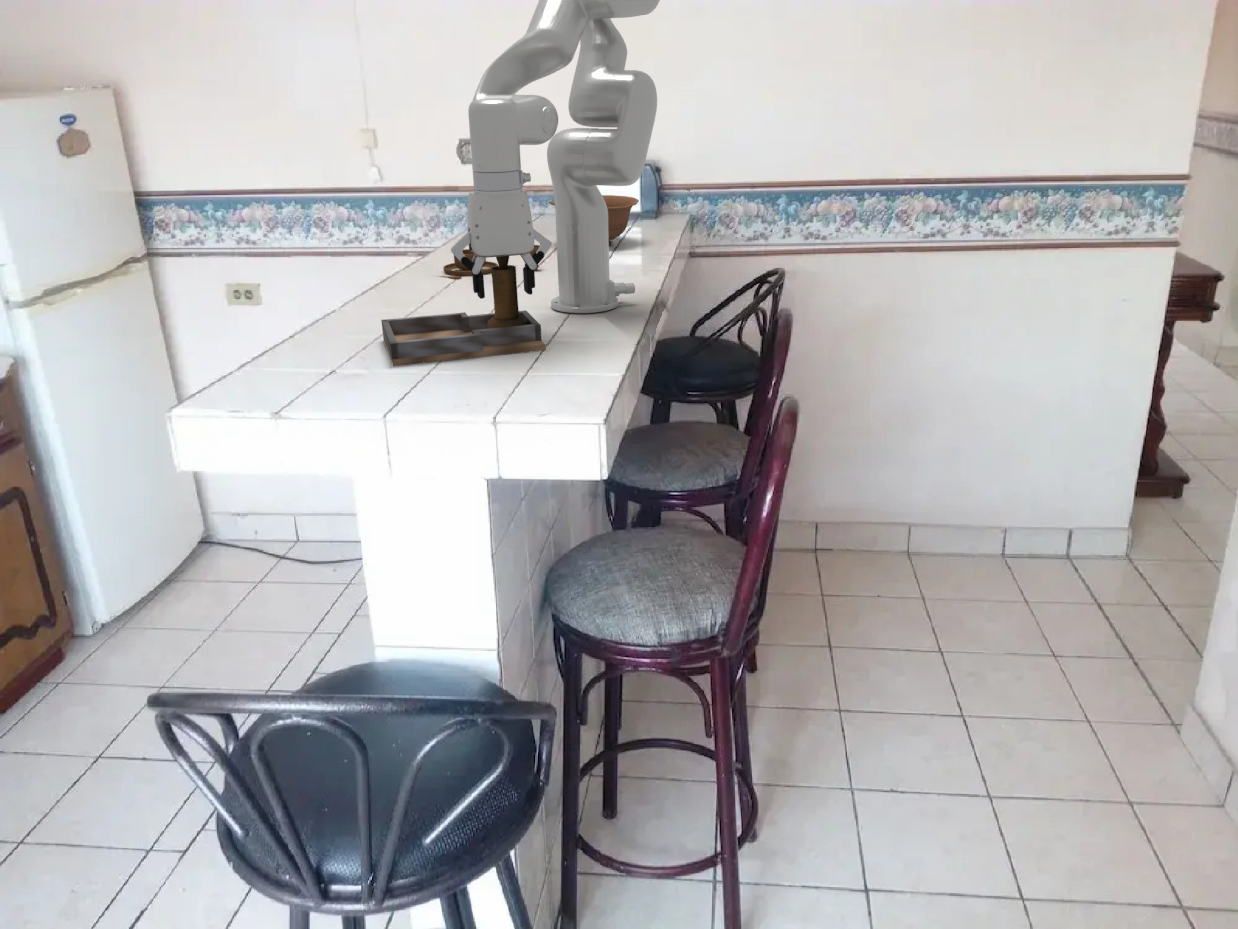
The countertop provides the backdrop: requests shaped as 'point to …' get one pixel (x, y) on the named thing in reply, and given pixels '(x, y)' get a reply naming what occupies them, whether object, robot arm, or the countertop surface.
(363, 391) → the countertop surface
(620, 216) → the bowl
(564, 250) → the robot arm
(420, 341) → the keyhole board
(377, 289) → the countertop surface
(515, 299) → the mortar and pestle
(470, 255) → the place setting
